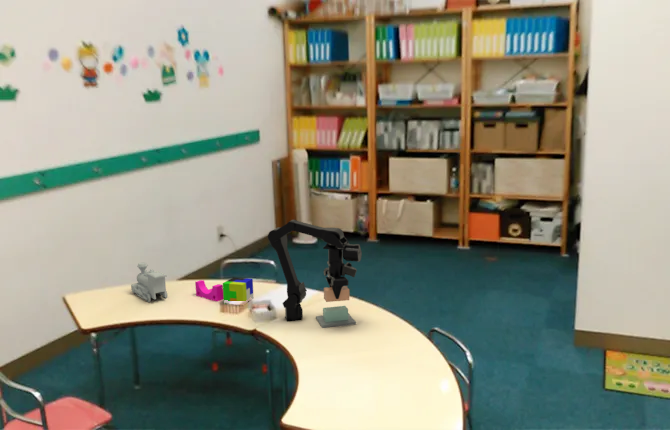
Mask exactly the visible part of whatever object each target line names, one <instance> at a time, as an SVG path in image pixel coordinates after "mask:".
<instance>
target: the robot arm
mask: <svg viewBox="0 0 670 430" xmlns="http://www.w3.org/2000/svg"><path fill="white" fill-rule="evenodd" d="M292 232H297V233H301V234H303V235H308V236H312V237H315V238H318V239H320V240H322V241H323V242H325V243H326V245H324V246H323V250H327V251H328V253H327V254H328V258H327V259H328V260H327V261H326V263H327V265H328V267H325V268H324V269H323V275H324V276H325V280H326V282H327V284H328V286H329V287H332V290H333V292H334V295H335V298H336V299H339V296H340V292H341V289H342V287H343V286H347V287H348V286H349V279H347V277H346V276H350V277H353V278H355V276H356V273H357V271H358V270H357V268H356V267H354V266H353V265H352V263H351V262H357V263H359V262H361V260H362V254H363V253H362V250H361V249H362V248H361V245H360V243H355V244H354V243H353V244H352V243H351V244H350V242H349V241H348V239H347V238H346V237H345V234H344V232H343V230H342V229H341V228H339V227H323V226H318V225H315V224H311V223H307V222H304V221H299V220H296V219H291V220H290V221H288V222H287V223H286V224H284V225H283V226H281V227H279V226H278V227H276V228H274V229H272V230H270V231H269V232H268V234H267V240H268V242H269V244H270V245H271V247H272V249H274V250H275V252H276V254H277V257H278V260H279V264H280V266H281V269H282V272H283V275H284V277H285V281H286V295H287V297H286V299H285V300H284V301H283V302H282V305H283V308H284V311H285V312H284V313H285V315H284V319H285V321H286V322H287V323H288V322H290V323H291V322H299V321H303V308H302V304H301V303H302V302H303V300H304V299H305V298H306V297H307V291H308V290H307V288H306V286H305V282H304V281H302V282H300V281H299V279H298V276H297V273H296V270H295V267H294V265H293V261H292V258H291V255H290V252H289V249H288V234H290V233H292ZM343 260H345V261H346V263H344V261H343Z"/></svg>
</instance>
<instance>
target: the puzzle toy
mask: <svg viewBox="0 0 670 430" xmlns="http://www.w3.org/2000/svg"><path fill="white" fill-rule="evenodd" d="M253 282H254V279H253V278H247V277H234V276H233V277H231V278H229V279H228V280H225V282H223V283H222V285H223V298H224V299H223V301H224V300H228V301H246V300H248V299H249V298H250V297H251V298H252V300H253V299H254V297H255V296H254V283H253Z"/></svg>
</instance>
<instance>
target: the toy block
mask: <svg viewBox="0 0 670 430" xmlns="http://www.w3.org/2000/svg"><path fill="white" fill-rule="evenodd" d="M194 282H195V283H194V285H195V296H196V297H200V298H203V299H207V300H210V301H213V302H217V303H218V302H220V301H224V298H223V284H220V283H219V284H214V285H212V288H210V289H208V287H207V285H206V282H205V280H203V279H201V280H197V281H194Z"/></svg>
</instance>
